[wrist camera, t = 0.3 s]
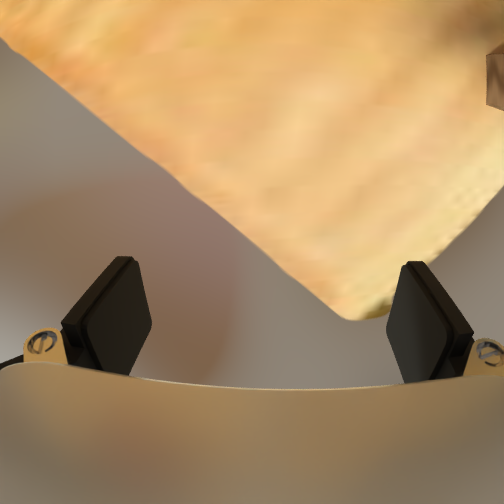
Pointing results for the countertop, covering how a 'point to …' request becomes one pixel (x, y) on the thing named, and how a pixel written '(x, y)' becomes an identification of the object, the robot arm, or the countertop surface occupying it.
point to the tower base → (495, 81)
